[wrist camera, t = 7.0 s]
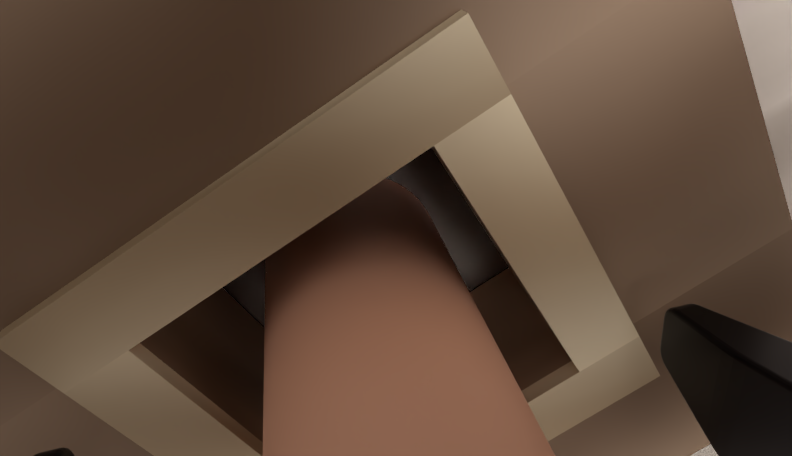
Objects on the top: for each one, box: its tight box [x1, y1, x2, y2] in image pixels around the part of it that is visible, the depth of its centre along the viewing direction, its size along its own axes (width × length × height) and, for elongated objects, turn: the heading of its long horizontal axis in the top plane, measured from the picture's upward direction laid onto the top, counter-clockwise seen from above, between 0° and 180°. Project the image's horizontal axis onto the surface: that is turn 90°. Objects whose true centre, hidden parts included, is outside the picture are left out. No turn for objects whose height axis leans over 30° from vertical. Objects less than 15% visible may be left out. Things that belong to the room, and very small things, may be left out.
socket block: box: [0, 0, 792, 456], centre depth 11 cm, size 14×14×4 cm
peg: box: [263, 179, 555, 456], centre depth 8 cm, size 4×4×9 cm
